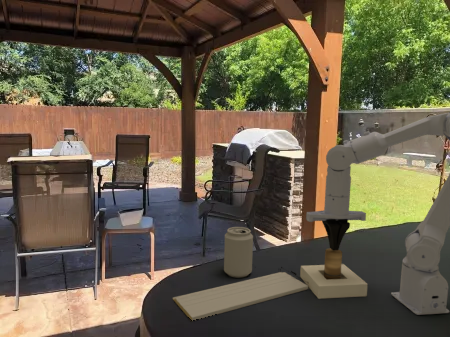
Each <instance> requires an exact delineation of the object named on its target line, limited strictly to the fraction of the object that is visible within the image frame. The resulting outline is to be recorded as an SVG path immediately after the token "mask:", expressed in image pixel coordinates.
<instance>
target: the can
mask: <svg viewBox="0 0 450 337" xmlns="http://www.w3.org/2000/svg"><path fill="white" fill-rule="evenodd" d="M226 231H227V232H226V233H225V234H224V248H223V249H224V253H223V257H224V258H223V271H224V273H225V274H227V275H228V276H229V277H232V278H240V279H241V278H246V277H247V276H249V274H251V273H252V271H253V253H254V252H253V250H254V247H253V245H254V235H253V234H252V233H251V232H252V230H251V229H249V228H248V227H244V226H233V227H229V228H228V229H227V230H226Z"/></svg>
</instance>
